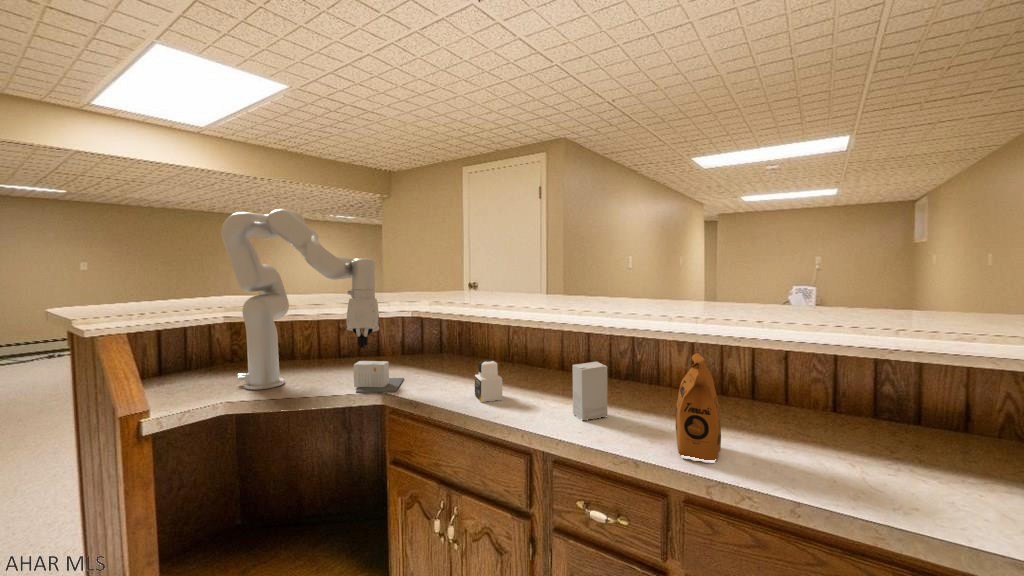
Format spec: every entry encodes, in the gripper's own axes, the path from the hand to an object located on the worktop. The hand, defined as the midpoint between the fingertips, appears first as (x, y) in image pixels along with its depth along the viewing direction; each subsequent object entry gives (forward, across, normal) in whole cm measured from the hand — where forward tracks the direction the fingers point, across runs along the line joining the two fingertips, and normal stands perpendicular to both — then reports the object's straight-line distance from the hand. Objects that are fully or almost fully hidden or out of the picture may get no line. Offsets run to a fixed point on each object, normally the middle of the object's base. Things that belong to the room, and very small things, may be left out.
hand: (362, 347), depth 161 cm
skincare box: (+11, +71, -36) cm, 81 cm away
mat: (+13, +6, 0) cm, 15 cm away
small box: (+9, -2, -1) cm, 9 cm away
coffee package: (+10, +90, -61) cm, 109 cm away
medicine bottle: (+12, +43, -17) cm, 48 cm away
